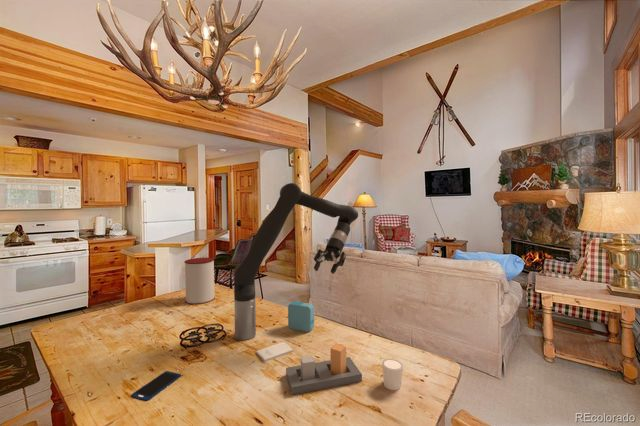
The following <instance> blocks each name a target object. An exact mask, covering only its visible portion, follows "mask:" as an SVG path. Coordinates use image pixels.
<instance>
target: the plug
mask: <svg viewBox="0 0 640 426" xmlns="http://www.w3.org/2000/svg"><path fill="white" fill-rule="evenodd" d="M346 358H347V346H345V345H344V344H343V345H342V344H340V343H337V342H336V343H334V344H333V346H331V347H330V360H331V370H330V373H331V374H332V375H338V374H343V373H347V372H346Z"/></svg>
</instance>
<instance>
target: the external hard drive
mask: <svg viewBox="0 0 640 426" xmlns="http://www.w3.org/2000/svg"><path fill="white" fill-rule="evenodd" d="M255 353H256V355H258V356H259V358H260V359H261V360H262V361H263V362H264V363H266V362H269V361H272V360H274V359H276V358H277V359H278V358H280V357H282V356H286V355H288V354H291V353H294V349H293V348H292V347H291V346H289V345H288V344H287V343H286V342H284V341H282V342H279V343H276V344H273V345H271V346H270V345H269V346H267V347H265V348H262V349H259V350H255Z"/></svg>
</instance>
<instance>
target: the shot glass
mask: <svg viewBox="0 0 640 426" xmlns="http://www.w3.org/2000/svg"><path fill="white" fill-rule="evenodd" d="M381 366H382V367H381V368H382V378H383V386H384V387H385V389H388V390H391V391H398V390H401V388H402V383H403V372H404V364H403V363H402V362H401V361H400V360H398V359H394V358H386V359H383V360H382V361H381Z"/></svg>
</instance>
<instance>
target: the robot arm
mask: <svg viewBox="0 0 640 426" xmlns="http://www.w3.org/2000/svg"><path fill="white" fill-rule="evenodd" d="M295 205H299V206H302V207H305V208H308V209H310V210H313V211H316V212H318V213H320V214H322V215H325V216H328V217H331V218H333V219H334V218H337V217H338V219H337V223H336V226H335V228H334V230H333V232H332V233H331V235H330V237H329V239H328V241H327V243H326V246H325V249H324V250H322V249H321V248H320V249H318V251H316V254H315V256H314V257H313V260H314V262H315V264H314V266H313V269H314V271H315V272H318V271H319V268H320V266H321V264H323V263H325V262H333V265H332V266H331V268H330V273H331V274H333V275H334V274H335V273H336V272H337V269H338V267H343V266H344V263H345V260H346V258H347V255H346V253H345V252H344V251H343V250H344V247H345V245H346V243H347V239H348V237H349V233H350V231H351V224H352V223H353V222H355V221H356V220H357V219H358V218H359V212H358V210H357V209H356V208H355V207H353V206H351V205H345V204H340V203H339V204H338V203H336V202H333V201H330V200H328V199H325V198H321V197H317V196H314V195H311V194H308V193H306V192H305V191H302V189H301V187H300V186H299V184H297V183H293V182H291V183H290V182H289V183H286V184H284V185H283V186H282V187H281V188H280V190H279V197H278V199H277V202H276V203H275V205H274V207H273V208H272V210H271V211H270V212H269V213H268V214H267V216H265V218H264V220H262V223H261V224H260V226H259V228H258V230H257V231H256V234H255V236H254V237H253V240H252V242H251V245H250V248H249V251H248V252H247V254H246V255H245V257H244V259H243V260H242V262H239V263H238V264H237V265H236V266H235V268H234V270H233V283H234V284H233V294H234V295H233V297H234V298H233V299H234V300H233V301H234V340H235V341H236V340H240V341H247V340H250V339H253V338H254V337H256V335H257V334H256V332H257V325H256V324H257V323H256V321H257V318H256V316H257V315H256V314H257V313H256V286H255V285H256V284H255V283H256V281H255V279H256V276H257V274H258V273H259V269H260V266H261V265H262V263H263V262H264V259H265V258H266V256H267V254H268V253H269V252H270V250H271V248H272V247H273V245H274V244H275V243H276V240H277V239H278V236H279V235H280V232H281V231H282V229H283V227H284V225H285V222H286V221H287V219H288V216H289V215H290V213H291V211H292V210H293V209H294V207H296V206H295ZM338 259H339V260H338Z"/></svg>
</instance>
